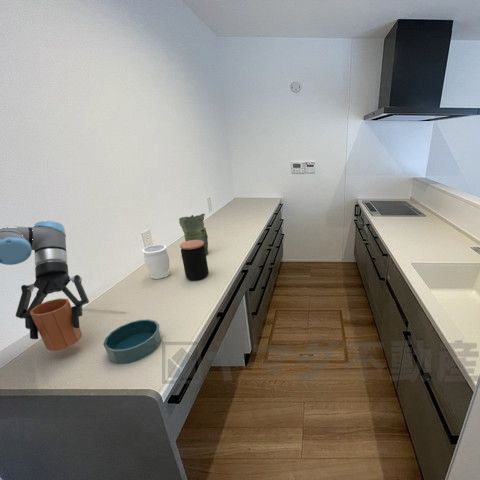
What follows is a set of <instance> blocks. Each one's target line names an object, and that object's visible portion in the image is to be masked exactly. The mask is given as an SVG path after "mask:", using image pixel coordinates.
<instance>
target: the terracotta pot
mask: <svg viewBox="0 0 480 480" xmlns="http://www.w3.org/2000/svg"><path fill="white" fill-rule="evenodd" d="M69 300H70V299H69V298H56V299H55V298H54V299H51V300H47V301H43V302H42V303H41V304H40V305H37V306H36V307H34V308H33V309H32V310H31V311H30V314H31V316H32V319H33V321H34V323H35V325H36V327H37V329H38V334H39V335H40V338H41V340H42V342H43V344H44V346H45V348H46V350H48V351H50V352H57V351H62V350H64V349H67V348H70V347H71V346H73V345H75V344H76V343H78V342H79V341H80V340H81V339H82V337H83V333H82V331H81V327H80V328H74V327H73V317H72V307H73V306H72V305H71V301H69Z"/></svg>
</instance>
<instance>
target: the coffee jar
mask: <svg viewBox="0 0 480 480" xmlns="http://www.w3.org/2000/svg"><path fill="white" fill-rule="evenodd" d="M179 247H180V254H181V259H182V264H183V269H184V275H185V278H186V279H187V280H188V281H192V282H197V281H201V280H205V278H207V277H208V275H209V265H208V260H207V259H208V258H207V254H206V252H205V247H204V242H203V241H202V240H190V241H183V242H181V243H180V244H179Z"/></svg>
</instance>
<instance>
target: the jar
mask: <svg viewBox="0 0 480 480" xmlns="http://www.w3.org/2000/svg"><path fill="white" fill-rule="evenodd" d="M167 249H168V248H167V246H166V245H165V244H153V245H148V246H146V247H144V248H143V249H142V250H141V252H142V254H143V259H144V264H145V266H146V268H147V271H148V272H149V274H150V278H151V279H154V280H160V279H165V278H166V277H168V276H169V275H170V274H171V273H170V271H169V270H170V257H169V253H168V251H167Z"/></svg>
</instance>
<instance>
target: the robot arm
mask: <svg viewBox="0 0 480 480" xmlns="http://www.w3.org/2000/svg"><path fill="white" fill-rule="evenodd" d="M34 225H35V226H34ZM34 225H33V226H31V227H29V226H27V227H26V226H16V227H17V228H8V227H7V228H2V229H0V264H1V265H7V266H13V265H14V266H15V265H19V264H21V263H24V262H26V261H27V260H28V259H29V258H30V257H31V255H32V252H33V251H34V266H35V267H34V273H35V275H34V276H35V281H34V282H33V283H32V284H28V285H26V284H22V285H21V286H20V290H21V295H20V299H19V302H18V305H17V308H16V313H15V317H16V318H18V319H21V320H22V319H24V326H25V327H24V328H25V329H27V330H29V338H30V339H31V340H38V339H39V331H38V329H37V327H36V325H35V323H34V321H33V319H32V316H31V314H30V311H31V310H32V309H33V308H34V307H36V306H37V305H40V304H42V303H44V300H45V298H47V297H48V295H50V294H53V293H61V292H62V293H63V294H64V295H65V296H66V297H67V299H68V300H70V302H72V303H73V305H74V306H71V307H72V317H73V327H74V328H80V329H81V327H80V317H82V316H83V314H84V313H83V306H84V305H87V304H89V303H90V300H89V298H88V296H87V293H86V290H85V288H84V286H83V284H82V281H83V279H82V277H81V276H80V275H79V274H75V275H74V276H70V275H69V264H68V254H67V240H66V239H67V238H66V237H67V235H66V231H65V226H64V225H63V224H62V223H60V222H58V221H55V220H46V221H44V220H41V221H38V222H36V223H34ZM32 230H33V231H32ZM22 235H23V236H22ZM32 239H33V240H32ZM70 282H72V283H73V284H74V287H75V288H76V291H77V293H78V295H79V298H80V300H79V299H78V297H76V296H75V295H74V293H73V292H71V290H70V289H69V288H68V284H69V283H70ZM34 289H37V291H36V295H35V296H34V298H33V299H32V302H31V303H30V301H31V298H32V294H33V293H32V292H34Z"/></svg>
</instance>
